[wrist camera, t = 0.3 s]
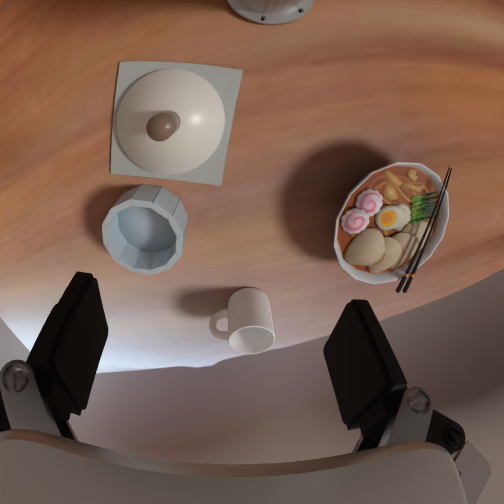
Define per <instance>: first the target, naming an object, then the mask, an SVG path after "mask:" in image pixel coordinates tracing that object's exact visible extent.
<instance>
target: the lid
mask: <svg viewBox="0 0 504 504" xmlns="http://www.w3.org/2000/svg"><path fill="white" fill-rule="evenodd" d="M224 125H225V112H224V107H223V103H222V100H221V98H220V96H219V94H218V93H217V91H216V90H215V88H214V87H213V86H212V85H211V84H210V83H209V82H208V81H207V80H206V79H204V78H203V77H201V76H199V75H197V74H195V73H193V72H190V71H186V70H181V69H165V70H160V71H156V72H153V73H151V74H148V75H146V76H145V77H143V78H141V79H140V80H139V81H137V82H136V83H135V84H134V85H133V86H132V87H131V88H130V89H129V91H128V92H127V93H126V95H125V96H124V98H123V100H122V102H121V104H120V107H119V110H118V114H117V134H118V138H119V141H120V144H121V146H122V148H123V150H124V151H125V153H126V154H127V155H128V157H129V158H130V159H131V160H132V161H133V162H134V163H136V164H137V165H138V166H140V167H141V168H143V169H145V170H147V171H150V172H153V173H156V174H162V175H174V174H180V173H184V172H187V171H190V170H192V169H194V168H196V167H198V166H199V165H201V164H202V163H204V162H205V161H206V160H207V159H208V158H209V157H210V156H211V155H212V154H213V152H214V151H215V150H216V148H217V146H218V145H219V143H220V140H221V138H222V135H223V131H224Z"/></svg>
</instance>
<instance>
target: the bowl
mask: <svg viewBox="0 0 504 504" xmlns="http://www.w3.org/2000/svg"><path fill="white" fill-rule="evenodd" d="M187 227H188V215H187V213H186V211H185V209H184V207H183V205H182V203H181V201H180V199H179V198H178V197H176V196H175V195H174V194H172V193H171V192H169V191H168V190H166V189H165V188H163V187H162V188H161V186H153V185H143V184H142V185H139V186H137V187H135V188H132V189H130V190H128V191H126V192H124V193H123V194H122V196H121V197H120V198H119V199H118V200H117V202H116V203H115V204H114V205H113V207H112V208H111V209H110V211H109V213H108V215H107V217H106V218H105V220H104V222H103V224H102V233H103V243H104V246H105V247H106V249H107V250H108V252H109V253H110V255H111V256H112V258H113V259H114V261H115V260H116V261H115V262H117V263H118V264H120V265H122V266H123V267H125V268H126V269H128V270H130V271H131V272H132V271H133V272H135V273H142V274H149V275H154V274H157V273H160V272H163V271H166V270H169V269H171V267H172V266H173V265H174V264H175V263H176V261H177V260H178V259H179V258H180V256H181V255H182V252H183V248H184V244H185V240H186V236H187Z"/></svg>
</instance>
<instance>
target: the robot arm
mask: <svg viewBox="0 0 504 504" xmlns="http://www.w3.org/2000/svg"><path fill="white" fill-rule="evenodd" d="M227 2H228V4H229V5H230V7H231V8H232V9H233V10H234V11H235V12H236V13H237V14H239V15H240V16H242V17H243V18H245V19H247V20H249V21H252V22H254V23H259V24H263V25H282V24H287V23H290V22H293V21H295V20H297V19H299V18H300V17H302V16H303V15H305V14H306V13H307V12H308V10H309V9H310V8H311V6H312V4H313V2H314V0H227ZM298 11H301V13H299V12H298ZM261 18H263V19H264V20H263V21H262V20H261ZM107 337H108V325H107V322H106V318H105V314H104V309H103V305H102V301H101V296H100V291H99V287H98V281H97V279H96V278H94V277H93V275H92V274H91V273H85V272H76V274H75V275H74V277H73V278H72V280H71V282H70V283H69V285H68V287H67V288H66V290H65V292H64V293H63V295H62V297H61V299H60V300H59V302H58V304H56V305H55V306H54V307H53V309H52V311H51V312H50V314H49V316H48V318H47V320H46V322H45V324H44V325H43V327H42V329H41V331H40V333H39V335H38V337H37V339H36V341H35V343H34V346H33V348H32V350H31V352H30V354H29V356H28V359H27V361H26V362H24V361H22V360H12V361H10V362H8V363H6V365H5V366H4V367H3V368H2V370H1V371H0V504H475V503H476V501H477V499H478V498H479V496H480V494H481V492H482V490H483V489H484V487H485V485H486V483H487V481H488V479H489V477H490V474H491V468H490V464H489V463H488V461H487V460H486V459H485V458H484V457H483V456H482V455H481V454H480V453H479V451H478V450H477V449H476V448H475V447H474V446H473V445H472V444H471V443H470V442H469V441H468V440H467V441H466V442H465V433H464V431H463V428H462V427H461V426H460V425H459V424H458V423H456V422H455V421H453V420H451V419H449V418H448V417H446V416H444V415H442V414H441V413H439V412H437V411H436V410H434V409H433V400H432V397H431V396H430V394H429V393H428V392H427V391H426V390H425V389H423V388H422V387H419V386H412V387H409V388H408V389H407V386H406V385H407V381H406V379H405V377H404V374H403V372H402V370H401V368H400V366H399V363H398V361H397V359H396V357H395V355H394V353H393V351H392V348H391V346H390V344H389V342H388V340H387V338H386V336H385V334H384V332H383V330H382V328H381V326H380V324H379V322H378V320H377V318H376V316H375V314H374V312H373V310H372V308H371V306H370V304H369V302H368V301H367V300H358V299H353V300H352V301H351V302H350V303H348V304H347V305H346V306H345V308H344V310H343V312H342V314H341V316H340V318H339V320H338V322H337V324H336V326H335V328H334V330H333V331H332V333H331V335H330V337H329V339H328V341H327V342H326V344H325V346H324V357H325V360H326V363H327V367H328V371H329V374H330V377H331V381H332V385H333V388H334V391H335V395H336V399H337V402H338V406H339V409H340V413H341V417H342V421H343V423H344V424H347V428H348V430H352V429H358V428H360V430H361V435H360V437H359V439H358V441H357V443H356V445H355V447H354V449H353V451H352V453H349V454H343V455H338V456H332V457H326V458H319V459H312V460H305V461H295V462H284V463H269V464H208V463H207V464H206V463H193V462H181V461H172V460H164V459H157V458H150V457H143V456H139V455H133V454H128V453H123V452H119V451H114V450H110V449H105V448H101V447H97V446H93V445H89V444H86V443H82V442H79V441H78V439H77V437H76V435H75V433H74V431H73V429H72V427H71V425H70V423H69V421H68V420H69V418H70V414H71V413H73V414H76V415H81V411H82V409H83V410H84V409H86V407H87V403H88V399H89V395H90V392H91V388H92V385H93V381H94V378H95V374H96V371H97V368H98V364H99V361H100V358H101V355H102V352H103V349H104V346H105V343H106V340H107Z"/></svg>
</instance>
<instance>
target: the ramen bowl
mask: <svg viewBox="0 0 504 504" xmlns="http://www.w3.org/2000/svg"><path fill="white" fill-rule="evenodd" d="M449 169H450V167H449V168H448V171H447V174H446V177H445V180H444V183H442V181H441V179H440V177H439V175H437V174H436V173H435V172H433V171H432V170H430V169H429V168H427V167H426V166H424V165H423V164H421V163H409V162H395V163H392V164H389V165H387V166H384V167H382V168H379V169H377V170H374V171H372V172H369V173H368V174H367V175H366V176H365V177H364V178H363V179H362V180H361V181H360V182H359V183H358V184H357V185H356V186H355V187H354V188H353V189H352V190H351V191H350V192H349V194H348V196H347V198H346V199H345V201H344V203H343V205H342V207H341V209H340V211H339V213H338V215H337V218H336V225H335V235H334V244H333V247H334V250H335V253H336V256H337V259H338V262H339V265H340V267H341V268H342V269H343V270H344V271H346V272H347V273H348V274H349V275H350V276H351V277H352V278H354V279H355V280H358V281H362V282H366V283H370V284H373V285H374V284H381V283H387V282H394V281H396V280H398V279H400V278H402V277H403V278H402V280H401V281H400V283H399V285H398V287H397V289H396V292H397V293H399V292H400V290H401V288H402V287H403V285H404V283H405V280H406V278H407V276H408V274H410V273H411V275H410V276H409V279H408V281H407V283H406V285H405V287H404V289H403V292H404V293H406V292H407V290H408V288H409V286H410V283H411V281H412V279H413V277H414V275H415V272H416V270H417V269H418V268H419V267H420V266H421V265H422V264H423V263H424V262H425V261H426V260H427V259H428V258H430V257H431V255H432V254H433V252H434V251H435V249H436V248H437V246H438V244H439V243H440V241H441V240H442V238H443V236H444V232H445V229H446V225H447V222H448V218H449V201H448V193H447V191H446V188H447V185H448V181H449V177H450V174H451V170H452V168H451V170H450V173H449V176H448V180H447V183H446V186H445V187H444V185H445V182H446V179H447V175H448V172H449Z"/></svg>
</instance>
